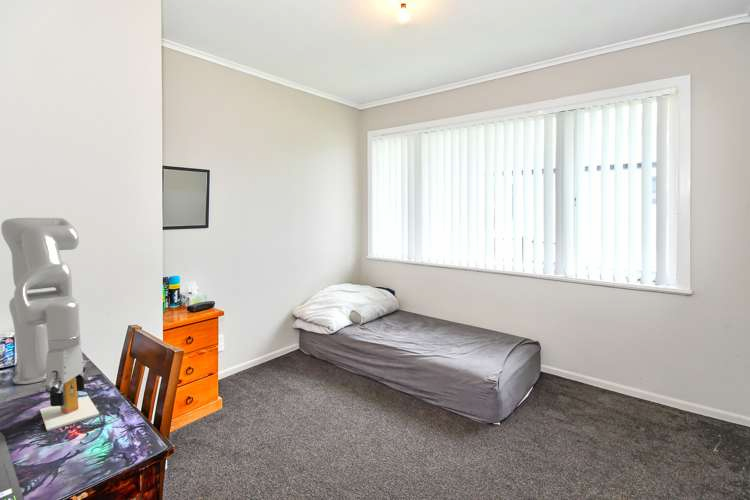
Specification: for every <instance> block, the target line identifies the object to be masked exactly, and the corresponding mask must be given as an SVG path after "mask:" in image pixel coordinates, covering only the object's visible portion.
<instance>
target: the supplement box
mask: <svg viewBox="0 0 750 500" xmlns="http://www.w3.org/2000/svg"><path fill="white" fill-rule="evenodd" d="M58 382H61V381H58ZM58 387H59V385H58ZM61 392H63V395H64V405H62V406H60V407H61V412H63V413H67V414H68V413H70V412H72V411H74V410H77V409H78V408H79V406H78V399H79V397H78V391H77V386H76V378H73V379H71V380H70V381H68V382H67V383H65V384H64V386H63V388H62V391H61Z"/></svg>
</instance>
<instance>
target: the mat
mask: <svg viewBox="0 0 750 500" xmlns="http://www.w3.org/2000/svg"><path fill="white" fill-rule="evenodd" d="M78 406H79V408H78V409H77V410H74V411H72V412H70V413H68V414H67V413H63V412H61V407H60V406H51V405H50V406H45V407H42V408H40V409H39V411H40V414H41V417H42V420H43V424H44V426H45V429H46V431H47V432H49V431H52V430H57V429H59V428H62V427H65V426H69V425H72V424H74V423H78V422H82V421H84V420H89V419H91V418H95V417H98V416H100V412H99V410H98V409H97V407H96V406H95V404H94V402H93V401H92V400H91V398H90V396H89V395H86V396H83V397H78Z"/></svg>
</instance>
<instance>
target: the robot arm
mask: <svg viewBox="0 0 750 500" xmlns="http://www.w3.org/2000/svg"><path fill="white" fill-rule="evenodd" d="M0 229H1V235H2V237H3V239H4V241H5V243H6V244H7V247H8V248H9V251H10V253H11V263H12V277H13V284H14V287H15V289H14V292H13V293H14V295H13V297H12V298H11V299H10V300H9V304H8V306H9V312H10V315H11V318H12V322H13V328H14V336H15V348H16V350H15V351H16V361H17V363H16V364H17V372H18V373H17V375H15V376H14V377H12V384H15V385H29V384H35V383H39V382H43V381H45V382H44V383H43V386H44V388H45V391H46V392H47V393H48V395H49V402H50V406H62V405H64V395H63V392H61V391H62V388H63V386H64V384H65V383H67V382H68V381H70V380H71V379H73V378H76V386H77V392H82V391H84V390H85V389H86V388H85V376H86V375H85V371H86V363H87V360H86V359H84V358H83V350H82V346H81V345H82V341H81V328H80V327H81V326H80V315H79V314H80V313H79V310H80V309H79V307H80V305H79V303H78V302H79V301H78V300H76V298H74V297H73V283H72V273H71V269H70V266H69V265H68V264H67V263H66V262H64V261H62V258H61V257H62V256H61V254H60V251H71V250H72V251H73V250H75V249H77V247H78V246H79V243H80V239H79V238H80V237H79V234H78V232H77V229H76V228H75V227H74V226H73V224H72V223H70V222H69V221H68V220H67V219H65V218H62V217H61V218H60V217H14V218H13V217H12V218H9V219H5V220H4V221H2V223H1V228H0ZM51 288H54V289H53V290H45V291H35V292H28V291H31V290H33V291H34V290H43V289H51ZM56 381H61V382H56ZM55 385H59V387H58V388H56V387H55Z"/></svg>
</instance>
